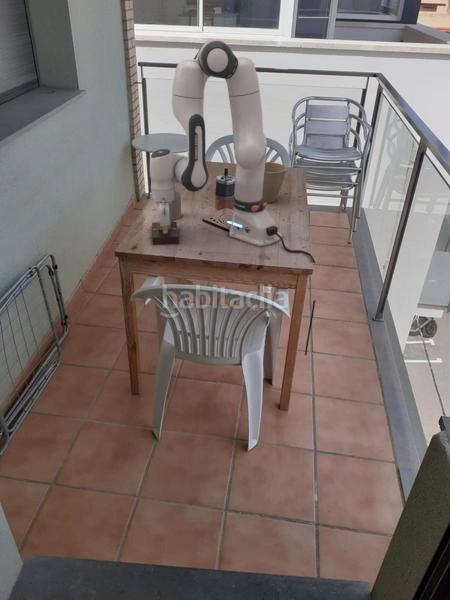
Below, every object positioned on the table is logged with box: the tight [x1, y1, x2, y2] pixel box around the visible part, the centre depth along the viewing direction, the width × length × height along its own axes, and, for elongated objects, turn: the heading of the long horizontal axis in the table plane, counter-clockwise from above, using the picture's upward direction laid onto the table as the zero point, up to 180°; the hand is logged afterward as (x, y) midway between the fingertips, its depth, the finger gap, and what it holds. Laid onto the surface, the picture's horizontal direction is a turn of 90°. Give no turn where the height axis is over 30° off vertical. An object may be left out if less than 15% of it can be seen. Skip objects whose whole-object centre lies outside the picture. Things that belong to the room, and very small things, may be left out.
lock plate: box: [151, 221, 180, 245], centre depth 186 cm, size 14×10×3 cm
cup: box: [169, 190, 182, 221], centre depth 201 cm, size 8×8×10 cm
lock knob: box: [157, 220, 172, 230], centre depth 185 cm, size 5×1×3 cm, turn 100°
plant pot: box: [262, 161, 287, 204], centre depth 217 cm, size 15×15×16 cm
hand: (164, 227), depth 185 cm, fingers open, 8 cm apart
